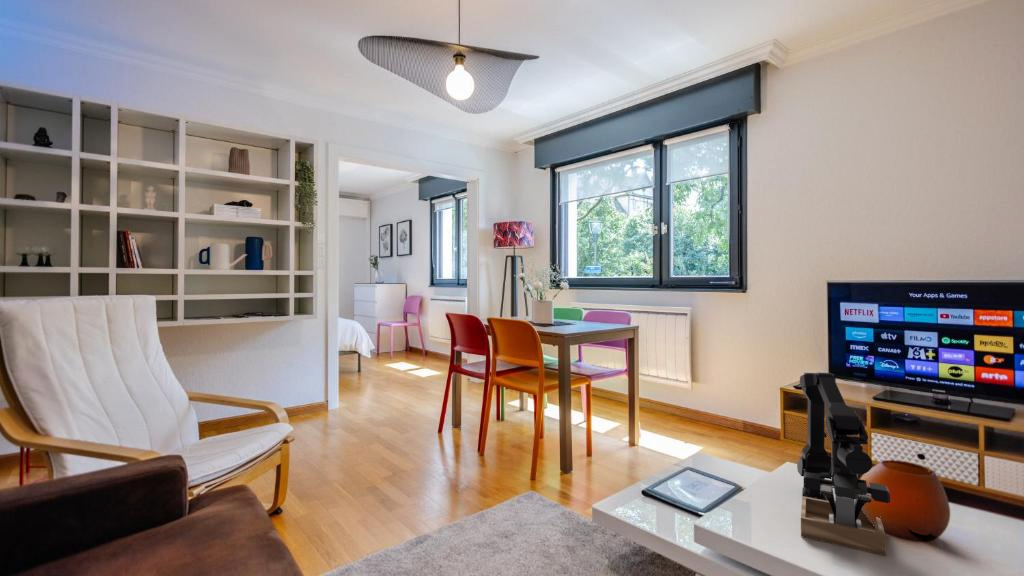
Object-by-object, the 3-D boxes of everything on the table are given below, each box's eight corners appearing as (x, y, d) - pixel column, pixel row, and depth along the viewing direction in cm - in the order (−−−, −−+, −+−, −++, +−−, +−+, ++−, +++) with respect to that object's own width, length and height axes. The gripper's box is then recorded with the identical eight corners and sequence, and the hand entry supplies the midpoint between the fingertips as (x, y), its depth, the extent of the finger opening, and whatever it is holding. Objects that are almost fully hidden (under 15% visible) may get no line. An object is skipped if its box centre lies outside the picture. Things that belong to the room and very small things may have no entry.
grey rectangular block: (835, 521, 130) (835, 492, 130) (854, 525, 128) (853, 495, 128) (836, 527, 127) (835, 497, 127) (855, 531, 125) (854, 501, 125)
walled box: (802, 513, 141) (802, 496, 141) (878, 528, 132) (878, 510, 132) (801, 536, 128) (800, 517, 128) (886, 556, 118) (885, 535, 118)
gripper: (802, 463, 126) (803, 522, 126) (892, 477, 116) (893, 541, 116) (803, 451, 135) (804, 506, 135) (886, 463, 125) (887, 522, 125)
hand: (845, 518), depth 128 cm, fingers closed on grey rectangular block, 4 cm apart
